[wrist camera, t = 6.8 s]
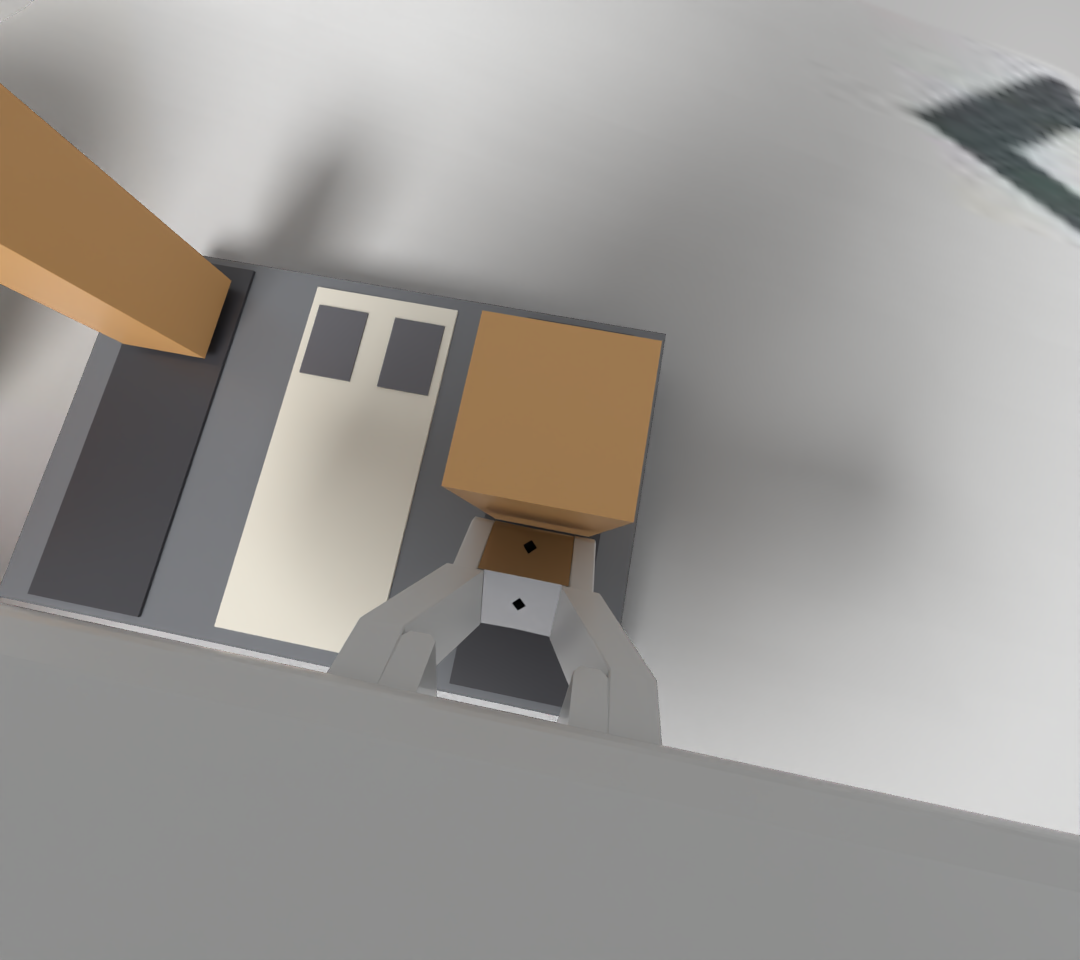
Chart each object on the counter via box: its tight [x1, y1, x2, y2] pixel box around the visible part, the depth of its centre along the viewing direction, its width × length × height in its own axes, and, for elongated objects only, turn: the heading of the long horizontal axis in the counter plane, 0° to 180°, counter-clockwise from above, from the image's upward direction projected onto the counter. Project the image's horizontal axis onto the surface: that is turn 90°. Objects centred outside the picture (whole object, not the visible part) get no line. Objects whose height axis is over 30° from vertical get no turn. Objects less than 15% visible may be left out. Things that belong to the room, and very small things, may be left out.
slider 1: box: [0, 83, 231, 358], centre depth 11 cm, size 3×3×7 cm
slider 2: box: [441, 310, 662, 537], centre depth 10 cm, size 3×3×7 cm
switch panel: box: [0, 256, 666, 716], centre depth 15 cm, size 13×20×3 cm, turn 79°
